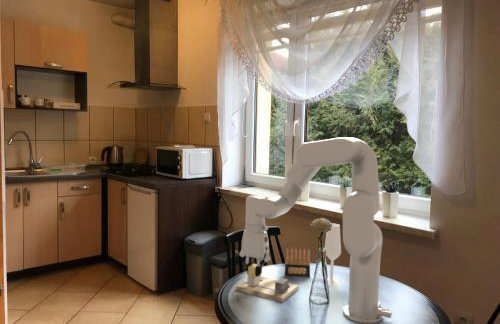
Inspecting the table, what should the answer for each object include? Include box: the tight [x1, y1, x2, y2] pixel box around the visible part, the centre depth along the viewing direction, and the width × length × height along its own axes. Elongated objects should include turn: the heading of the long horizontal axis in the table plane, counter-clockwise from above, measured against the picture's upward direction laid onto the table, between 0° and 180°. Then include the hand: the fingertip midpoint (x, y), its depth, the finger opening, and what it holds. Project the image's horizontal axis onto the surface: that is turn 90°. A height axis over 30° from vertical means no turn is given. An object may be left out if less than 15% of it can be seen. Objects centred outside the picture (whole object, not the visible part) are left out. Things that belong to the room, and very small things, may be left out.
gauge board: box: [235, 276, 299, 303], centre depth 152 cm, size 20×14×6 cm
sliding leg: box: [246, 263, 263, 286], centre depth 154 cm, size 3×8×7 cm, turn 150°
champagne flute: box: [324, 223, 342, 287], centre depth 159 cm, size 7×7×24 cm
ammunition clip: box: [284, 247, 311, 278], centre depth 167 cm, size 11×2×12 cm, turn 84°
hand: (254, 274), depth 152 cm, fingers closed on sliding leg, 3 cm apart
